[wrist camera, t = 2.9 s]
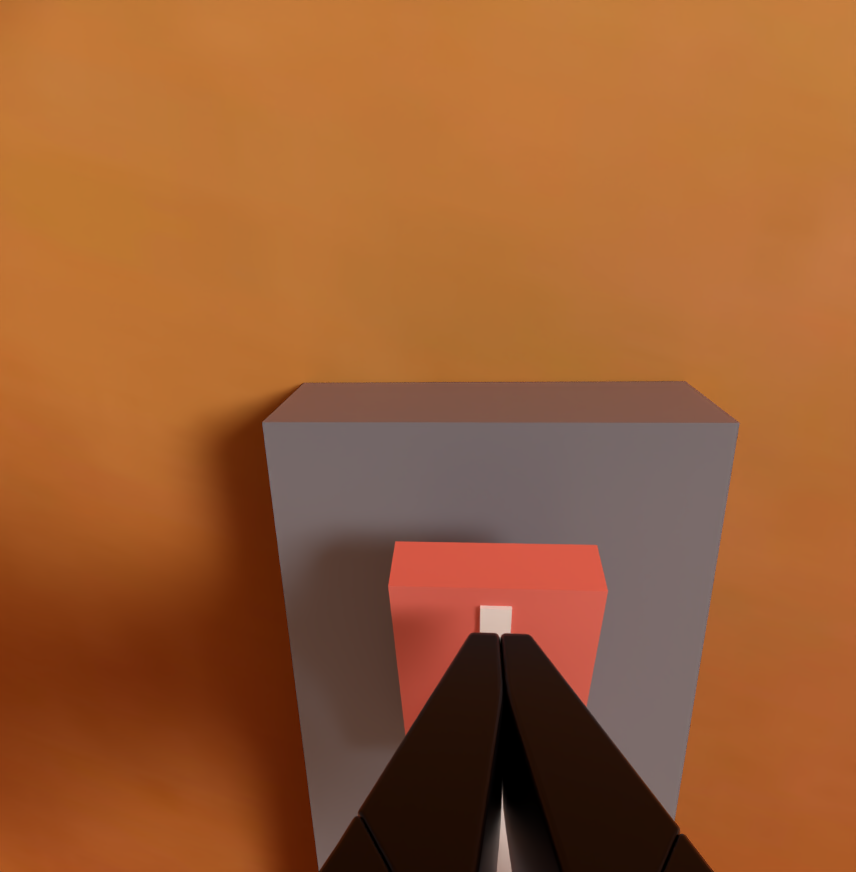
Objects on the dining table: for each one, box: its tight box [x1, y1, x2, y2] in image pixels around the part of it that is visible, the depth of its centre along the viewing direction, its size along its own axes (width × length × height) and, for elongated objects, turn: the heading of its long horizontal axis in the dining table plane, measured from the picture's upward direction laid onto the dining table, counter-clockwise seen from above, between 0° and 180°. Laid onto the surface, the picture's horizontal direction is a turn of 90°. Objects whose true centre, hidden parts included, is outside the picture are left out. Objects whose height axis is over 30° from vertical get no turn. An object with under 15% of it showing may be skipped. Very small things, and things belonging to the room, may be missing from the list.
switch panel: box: [262, 381, 739, 872], centre depth 17 cm, size 25×9×4 cm, turn 1°
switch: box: [388, 541, 608, 736], centre depth 11 cm, size 6×3×1 cm, turn 2°
